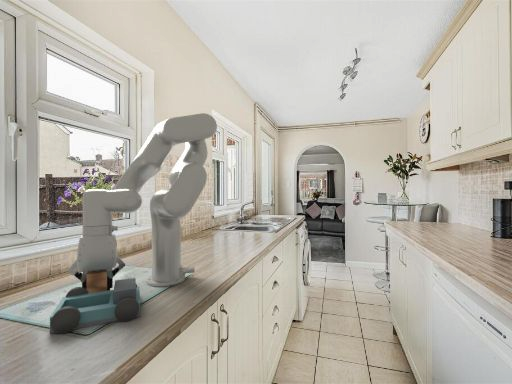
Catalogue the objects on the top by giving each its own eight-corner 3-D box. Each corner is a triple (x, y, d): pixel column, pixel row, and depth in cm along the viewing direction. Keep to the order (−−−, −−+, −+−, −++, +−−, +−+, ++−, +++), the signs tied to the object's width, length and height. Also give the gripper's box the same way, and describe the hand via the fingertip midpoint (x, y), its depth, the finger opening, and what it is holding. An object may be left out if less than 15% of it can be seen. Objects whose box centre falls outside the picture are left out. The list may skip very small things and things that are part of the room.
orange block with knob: (108, 290, 81) (108, 265, 81) (106, 296, 77) (106, 269, 77) (89, 293, 79) (89, 267, 79) (86, 299, 75) (86, 271, 74)
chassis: (139, 296, 77) (139, 274, 77) (140, 318, 63) (140, 291, 63) (63, 308, 69) (63, 283, 69) (48, 336, 56) (48, 305, 56)
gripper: (129, 227, 85) (129, 284, 85) (65, 231, 77) (65, 292, 78) (129, 231, 78) (129, 292, 78) (59, 235, 71) (59, 302, 71)
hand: (97, 291), depth 78 cm, fingers closed on orange block with knob, 5 cm apart
